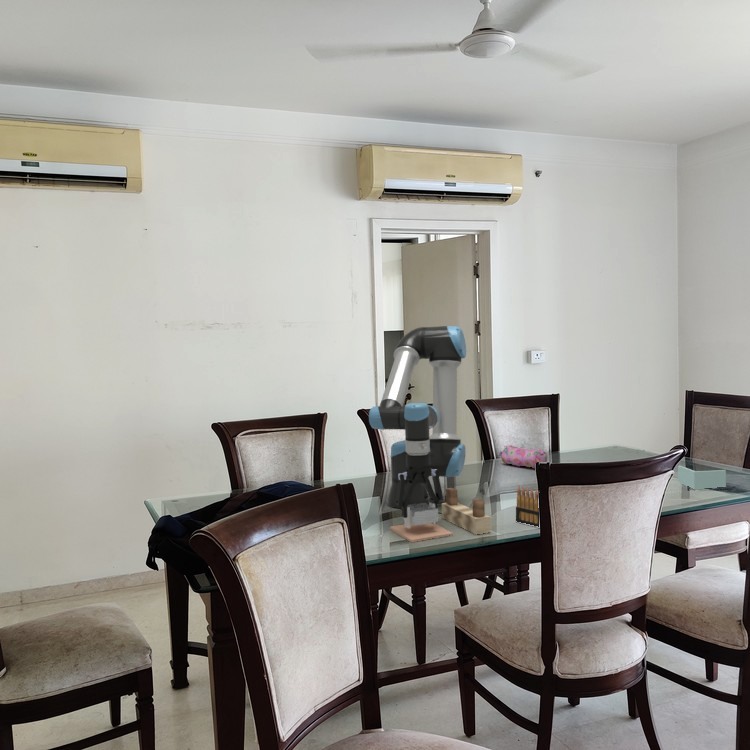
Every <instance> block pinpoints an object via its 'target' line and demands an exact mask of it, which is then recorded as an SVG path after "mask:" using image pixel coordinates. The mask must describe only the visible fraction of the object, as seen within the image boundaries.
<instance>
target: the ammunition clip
mask: <svg viewBox="0 0 750 750" xmlns="http://www.w3.org/2000/svg"><path fill="white" fill-rule="evenodd" d="M538 498H539V492H538V489H537V488H536V489H535V490H533V488H530V490H529V487H526V490H525V486H522V488H521V487H520V485H518V486H517V491H516V507H515V522H516V521H517V522H521V523H526V524H530V525H534V526H538V527H539V508H538ZM517 522H516V523H517ZM521 523H520V524H521Z"/></svg>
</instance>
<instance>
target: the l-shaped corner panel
mask: <svg viewBox="0 0 750 750" xmlns="http://www.w3.org/2000/svg"><path fill="white" fill-rule="evenodd" d="M678 482H680V483H682V484H684V485H686V486H689V487H691V488H693V489H704V488H717V487H726V488H727V470H726V469H719V470H718V469H717V470H716V469H715V470H698V471H697V470H693V469H690V468H689V467H688V468H687V467H686V466H683V465H678V466H677V483H678Z"/></svg>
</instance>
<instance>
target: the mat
mask: <svg viewBox="0 0 750 750" xmlns="http://www.w3.org/2000/svg"><path fill="white" fill-rule="evenodd" d="M410 525H411V528H410V529H408V528H406V527H405V523H404V524H397V525H391V526H389V530H390V531H392V532H393V533H395V534H396V535H398V536H400V537H402V538H403V539H405V540H406V539H407V541H408V542H410V543H417V541H418V542H423V541H422V540H424V541H428V540H427V539H430V540H433V539H432V538H436V539H438V538H437V537H442V538H444V537H443V536H448V535H453V536H454V533H453V532H452V531H450V530H448V529H446V528H444V527H442V526H440V525H438V524H436V525H433V524H431V523H427V524H420V525H414V524H412V523H410ZM448 537H449V536H448Z"/></svg>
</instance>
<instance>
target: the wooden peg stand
mask: <svg viewBox="0 0 750 750" xmlns="http://www.w3.org/2000/svg"><path fill="white" fill-rule="evenodd" d="M458 499H459V498H458V489H456V488H454V487H446V488H445V502H443V503H441V517H442V518H441V519H442V520H445V519H446V520H445V521H447V522H449V523H451V522H452V524H453V525H455V524H456V526H457V525H458V526H457V527H459V526H460V527H459V528H461V527H462V528H461V529H463V528H464V529H463V530H465V529H466V530H465V531H467V530H468V531H467V532H469V531H470V532H469V533H471V532H472V533H471V534H473V533H474V535H475V534H476V535H475V536H478V535H477V534H480V535H484V534H483V533H486V534H489V533H488V532H490V533H491V516H489V515H488V514H485V499H484V498H473V499H472V501H471V502H472V507H468V506H466V505H465V504H461V503H459V501H458Z"/></svg>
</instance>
